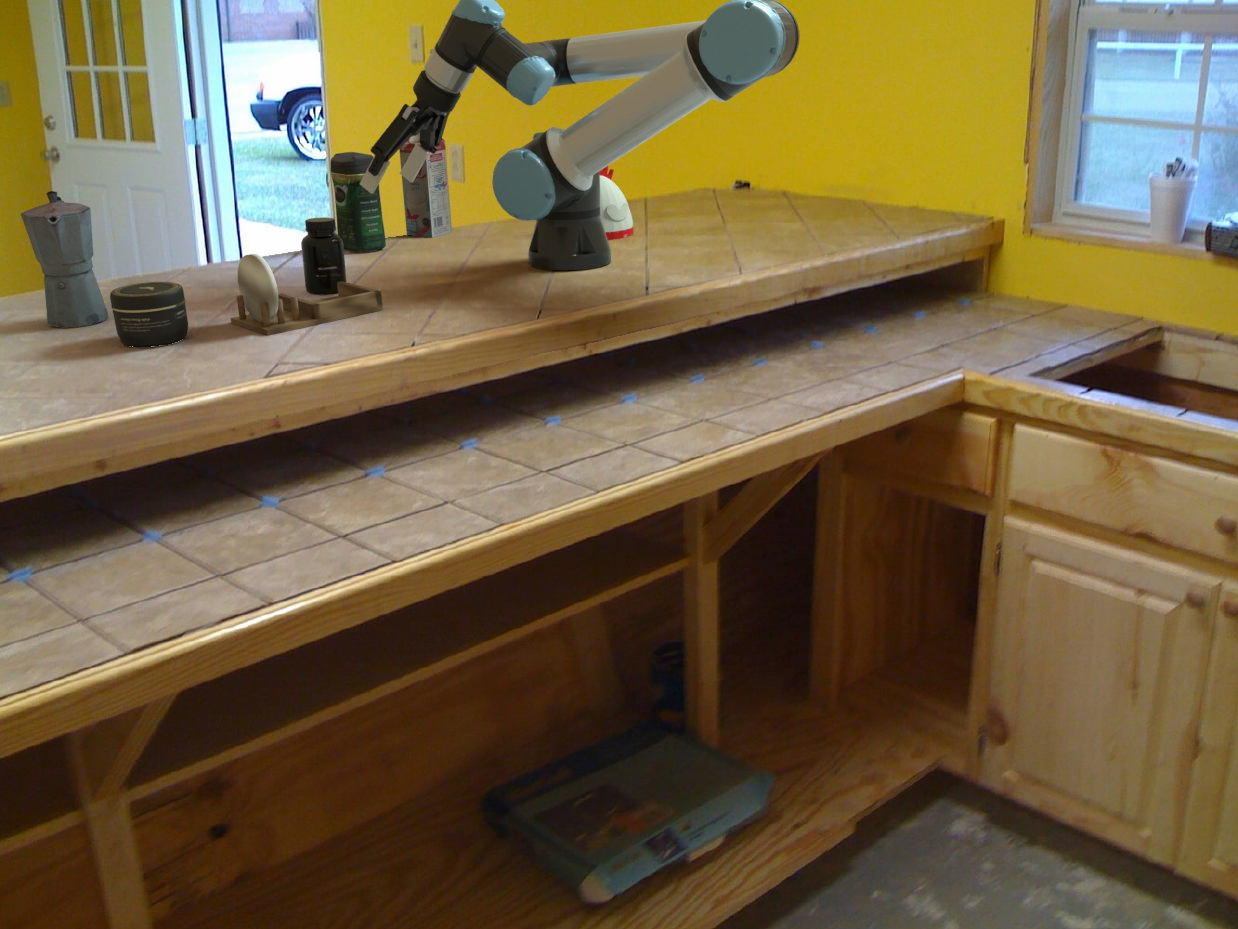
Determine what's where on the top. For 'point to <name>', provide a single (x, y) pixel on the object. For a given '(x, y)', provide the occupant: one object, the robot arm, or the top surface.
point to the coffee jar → (356, 204)
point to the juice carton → (427, 193)
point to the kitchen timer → (614, 208)
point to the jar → (150, 313)
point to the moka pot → (66, 261)
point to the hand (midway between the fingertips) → (386, 183)
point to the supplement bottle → (322, 257)
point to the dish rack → (293, 301)
